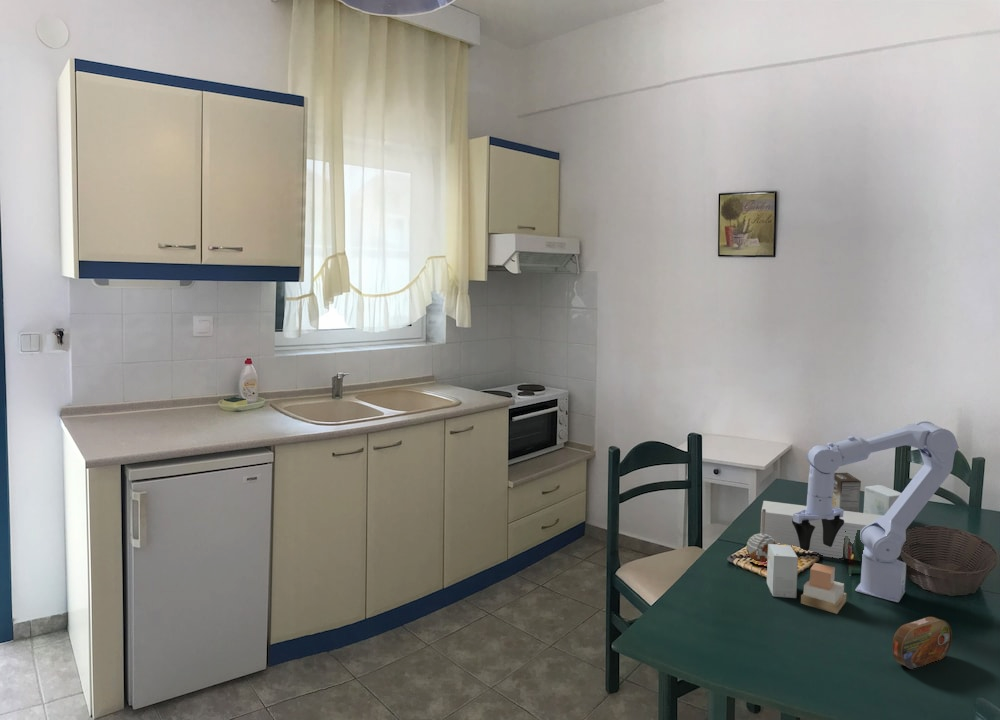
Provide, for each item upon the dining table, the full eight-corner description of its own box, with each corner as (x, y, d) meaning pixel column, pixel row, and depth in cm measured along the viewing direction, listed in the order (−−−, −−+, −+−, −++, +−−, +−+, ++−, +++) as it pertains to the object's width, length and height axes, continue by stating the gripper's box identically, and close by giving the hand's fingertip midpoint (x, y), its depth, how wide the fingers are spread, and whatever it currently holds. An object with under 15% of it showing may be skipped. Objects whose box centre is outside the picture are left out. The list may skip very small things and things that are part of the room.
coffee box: (824, 520, 218) (826, 472, 216) (844, 521, 218) (847, 472, 216) (837, 531, 209) (840, 480, 207) (858, 531, 209) (862, 480, 207)
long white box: (759, 547, 197) (761, 511, 196) (761, 534, 207) (763, 500, 205) (885, 566, 184) (888, 528, 183) (882, 552, 194) (884, 515, 192)
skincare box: (861, 517, 222) (863, 485, 220) (878, 515, 223) (880, 484, 222) (887, 528, 212) (889, 495, 210) (904, 526, 213) (906, 494, 212)
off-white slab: (843, 593, 163) (844, 583, 163) (834, 604, 158) (835, 593, 157) (812, 585, 167) (813, 575, 167) (803, 594, 162) (803, 584, 162)
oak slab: (845, 603, 163) (846, 593, 163) (836, 615, 157) (837, 605, 157) (810, 593, 168) (811, 583, 168) (800, 605, 162) (801, 595, 162)
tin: (902, 673, 133) (905, 633, 132) (887, 665, 136) (890, 625, 135) (952, 656, 139) (955, 618, 138) (937, 649, 142) (940, 611, 141)
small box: (796, 599, 164) (798, 557, 163) (772, 597, 166) (774, 555, 164) (789, 584, 172) (791, 544, 171) (766, 582, 173) (767, 543, 172)
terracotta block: (813, 578, 165) (814, 562, 165) (834, 583, 163) (835, 567, 162) (809, 585, 162) (810, 569, 161) (830, 590, 159) (831, 573, 159)
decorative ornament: (764, 570, 181) (766, 515, 179) (740, 560, 187) (742, 507, 186) (783, 564, 185) (785, 510, 183) (759, 554, 191) (761, 502, 190)
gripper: (810, 502, 162) (806, 557, 163) (855, 496, 167) (851, 549, 169) (788, 493, 168) (784, 546, 170) (832, 488, 174) (828, 539, 175)
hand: (815, 547), depth 170 cm, fingers open, 7 cm apart
